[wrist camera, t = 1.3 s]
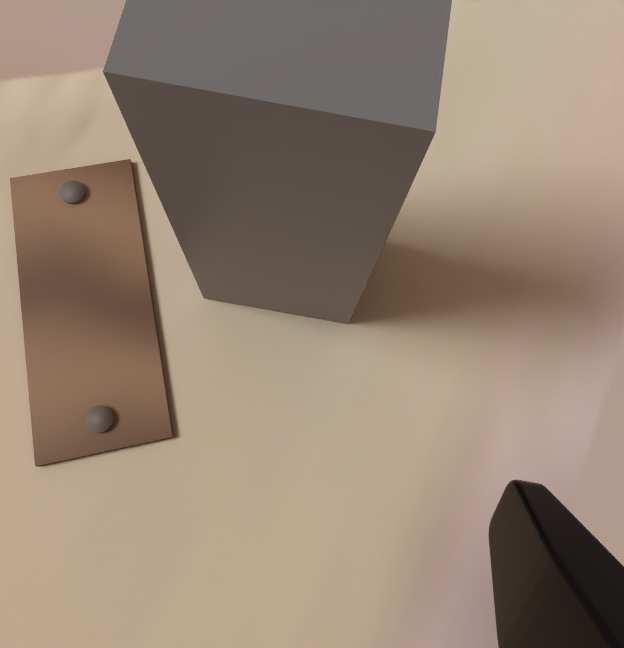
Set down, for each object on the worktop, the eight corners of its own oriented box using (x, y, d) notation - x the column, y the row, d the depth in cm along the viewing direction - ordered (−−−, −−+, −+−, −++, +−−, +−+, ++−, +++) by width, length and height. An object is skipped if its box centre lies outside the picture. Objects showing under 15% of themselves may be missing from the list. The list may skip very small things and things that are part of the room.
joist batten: (173, 437, 21) (171, 436, 20) (37, 466, 20) (32, 466, 20) (131, 161, 24) (128, 156, 23) (12, 180, 23) (7, 175, 23)
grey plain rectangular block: (348, 324, 22) (435, 131, 10) (203, 298, 22) (103, 71, 10) (362, 231, 23) (457, -49, 11) (225, 206, 23) (160, -104, 11)
